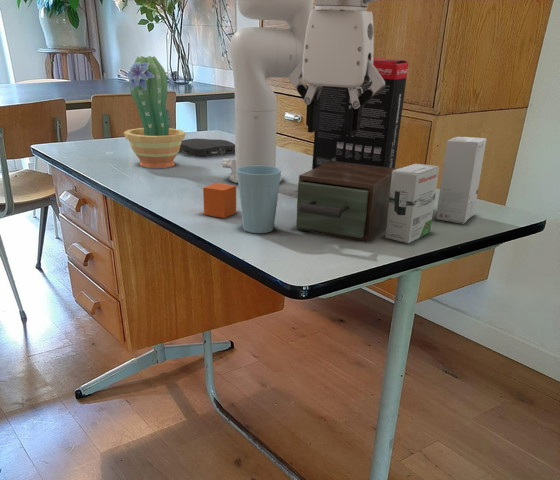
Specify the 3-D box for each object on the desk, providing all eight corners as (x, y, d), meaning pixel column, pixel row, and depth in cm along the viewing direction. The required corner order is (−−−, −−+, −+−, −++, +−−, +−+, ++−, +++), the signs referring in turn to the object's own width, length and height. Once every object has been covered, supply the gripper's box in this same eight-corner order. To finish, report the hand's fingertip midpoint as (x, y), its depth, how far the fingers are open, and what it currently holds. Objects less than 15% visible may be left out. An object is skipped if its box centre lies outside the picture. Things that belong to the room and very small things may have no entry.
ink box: (406, 228, 110) (416, 161, 104) (430, 233, 108) (441, 165, 102) (383, 238, 104) (391, 168, 98) (407, 244, 102) (417, 173, 96)
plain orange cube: (204, 214, 114) (202, 187, 112) (216, 209, 118) (215, 182, 115) (224, 218, 112) (224, 190, 110) (236, 212, 116) (236, 185, 113)
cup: (282, 224, 110) (283, 166, 105) (277, 236, 104) (278, 175, 98) (241, 221, 111) (241, 164, 105) (234, 234, 104) (233, 173, 99)
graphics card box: (393, 201, 127) (411, 58, 113) (381, 208, 122) (398, 59, 108) (322, 190, 134) (331, 54, 121) (308, 196, 129) (315, 55, 116)
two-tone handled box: (351, 246, 97) (356, 198, 93) (283, 234, 101) (285, 188, 98) (386, 218, 112) (391, 176, 108) (326, 209, 117) (328, 168, 113)
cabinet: (367, 241, 103) (373, 184, 98) (296, 229, 108) (299, 175, 103) (393, 219, 115) (399, 168, 110) (328, 210, 120) (331, 160, 115)
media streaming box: (212, 146, 180) (212, 135, 178) (240, 154, 170) (240, 143, 169) (170, 150, 172) (169, 139, 170) (197, 158, 162) (196, 147, 160)
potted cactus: (116, 162, 154) (104, 54, 142) (166, 156, 163) (159, 54, 151) (146, 173, 145) (137, 57, 132) (198, 166, 154) (194, 57, 141)
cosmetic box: (464, 224, 113) (479, 142, 106) (433, 219, 116) (446, 139, 108) (474, 215, 120) (489, 137, 112) (444, 210, 122) (457, 133, 115)
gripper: (406, 1, 85) (391, 135, 94) (297, 0, 91) (292, 126, 100) (392, -2, 79) (377, 142, 88) (276, -3, 85) (273, 131, 94)
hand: (332, 132), depth 94 cm, fingers open, 5 cm apart
